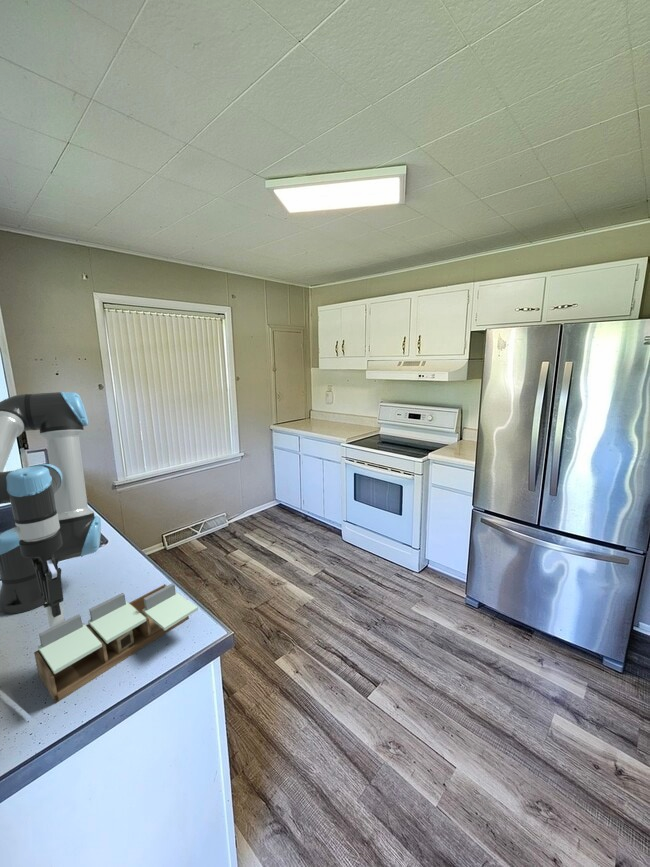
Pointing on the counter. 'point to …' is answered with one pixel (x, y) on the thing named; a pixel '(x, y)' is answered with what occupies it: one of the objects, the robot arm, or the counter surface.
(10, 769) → the counter surface
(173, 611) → the lid
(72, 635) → the lid
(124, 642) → the letter cube
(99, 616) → the lid
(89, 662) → the box
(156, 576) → the counter surface
